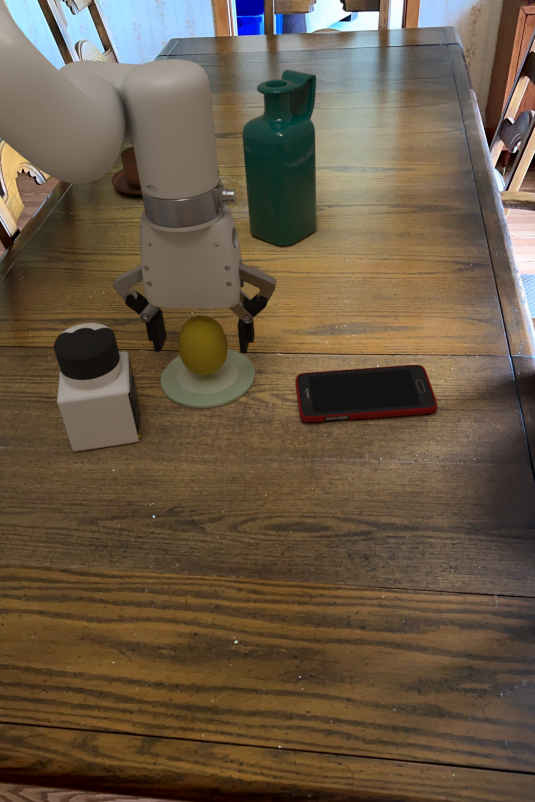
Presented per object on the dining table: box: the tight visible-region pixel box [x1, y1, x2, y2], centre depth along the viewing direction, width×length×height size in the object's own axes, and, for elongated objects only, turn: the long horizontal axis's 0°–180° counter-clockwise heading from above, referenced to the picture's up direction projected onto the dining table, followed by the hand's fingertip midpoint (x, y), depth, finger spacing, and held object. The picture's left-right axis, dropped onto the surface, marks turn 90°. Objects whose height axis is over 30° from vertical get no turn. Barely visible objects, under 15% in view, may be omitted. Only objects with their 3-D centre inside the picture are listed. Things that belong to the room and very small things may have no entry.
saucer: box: [159, 348, 256, 409], centre depth 83 cm, size 11×11×1 cm
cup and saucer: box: [111, 145, 142, 196], centre depth 124 cm, size 12×12×6 cm
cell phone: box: [295, 364, 438, 423], centre depth 78 cm, size 8×15×1 cm, turn 93°
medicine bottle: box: [53, 322, 142, 453], centre depth 74 cm, size 7×7×12 cm
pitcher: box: [241, 69, 317, 247], centre depth 103 cm, size 10×8×22 cm
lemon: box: [177, 314, 229, 375], centre depth 80 cm, size 6×6×8 cm
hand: (202, 345), depth 80 cm, fingers open, 9 cm apart
